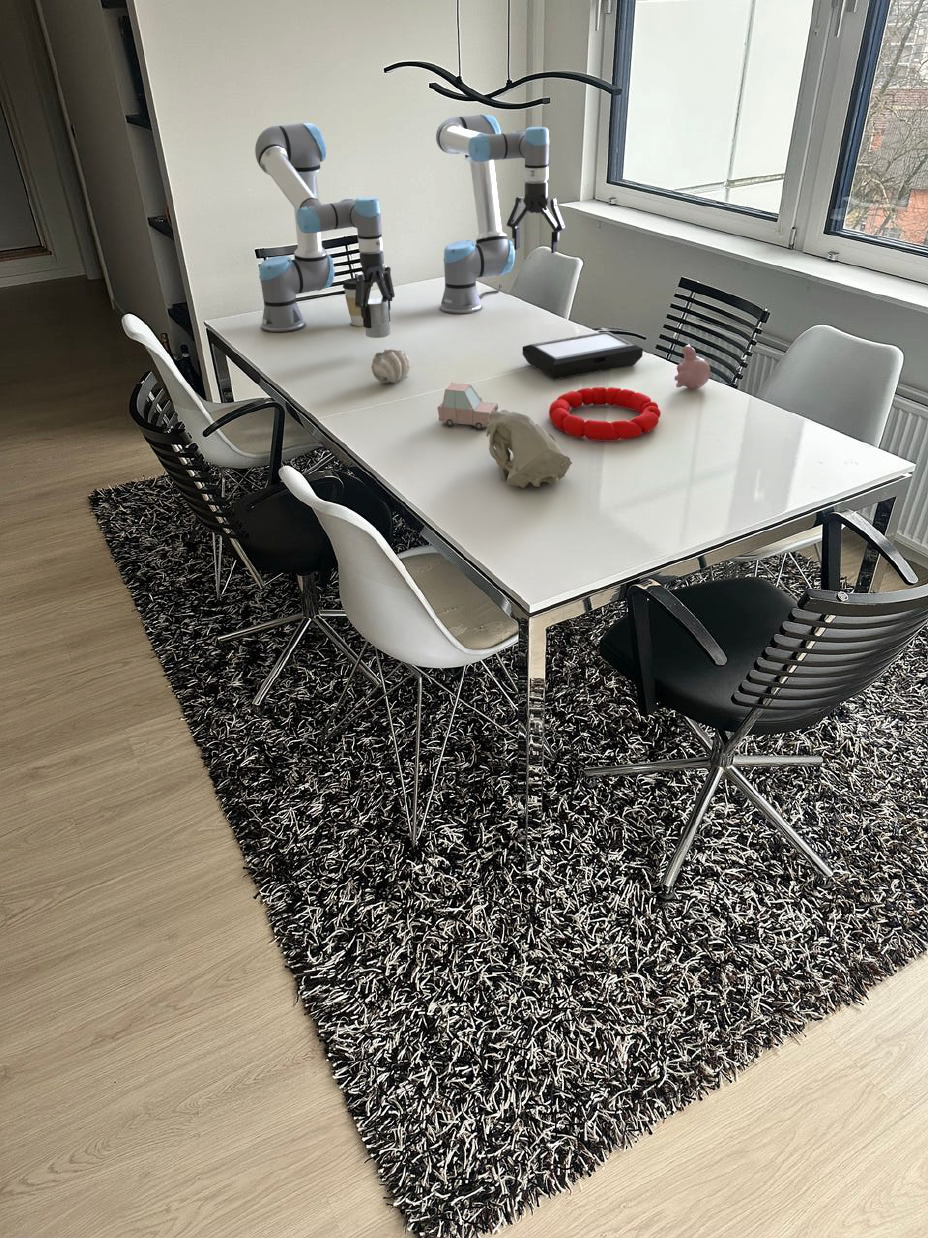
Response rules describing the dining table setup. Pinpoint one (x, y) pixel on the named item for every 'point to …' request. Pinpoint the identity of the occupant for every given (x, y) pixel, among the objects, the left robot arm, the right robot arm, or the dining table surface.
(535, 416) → the dining table surface
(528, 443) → the animal skull
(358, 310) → the coffee cup
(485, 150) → the right robot arm
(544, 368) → the electronic device
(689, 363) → the figurine
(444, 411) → the toy car
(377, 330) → the canister
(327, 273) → the left robot arm
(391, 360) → the seashell
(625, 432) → the decorative ring
